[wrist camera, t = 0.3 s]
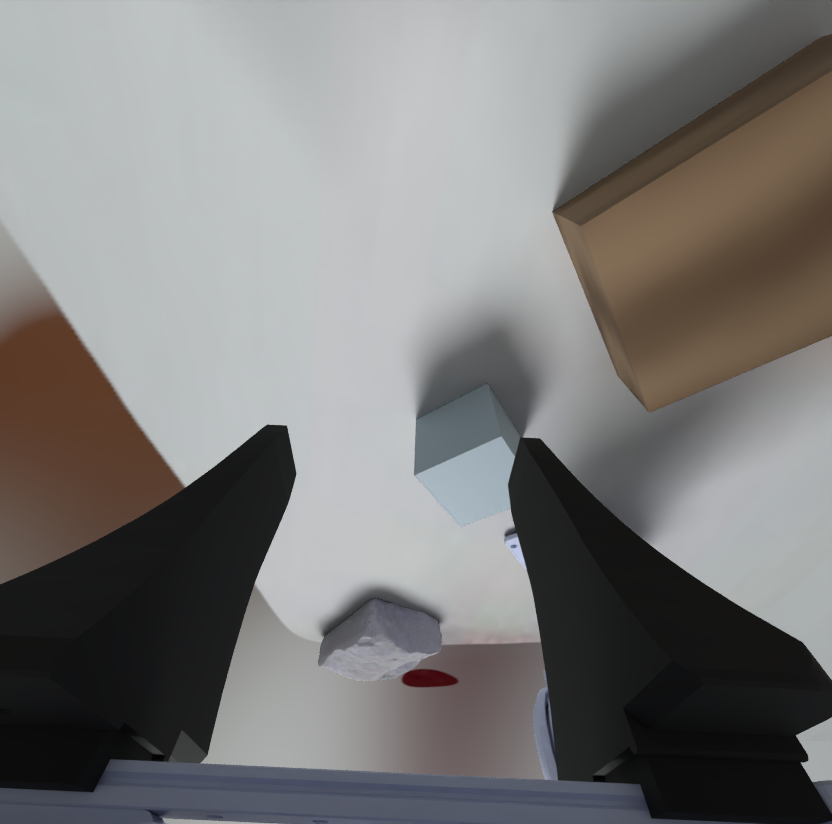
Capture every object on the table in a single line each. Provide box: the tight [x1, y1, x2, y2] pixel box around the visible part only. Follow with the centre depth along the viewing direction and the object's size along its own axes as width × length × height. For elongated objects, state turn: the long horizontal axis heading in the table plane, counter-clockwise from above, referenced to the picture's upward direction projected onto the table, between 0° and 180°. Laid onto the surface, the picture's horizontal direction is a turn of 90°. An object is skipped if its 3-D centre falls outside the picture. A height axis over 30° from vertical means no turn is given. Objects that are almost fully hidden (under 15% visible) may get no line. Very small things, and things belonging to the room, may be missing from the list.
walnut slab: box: [552, 34, 832, 413], centre depth 16 cm, size 10×10×4 cm
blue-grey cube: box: [414, 384, 521, 527], centre depth 22 cm, size 5×5×5 cm
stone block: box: [318, 598, 442, 681], centre depth 39 cm, size 12×5×10 cm
